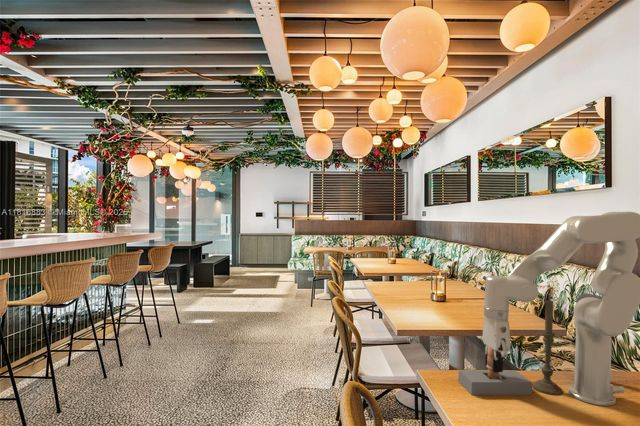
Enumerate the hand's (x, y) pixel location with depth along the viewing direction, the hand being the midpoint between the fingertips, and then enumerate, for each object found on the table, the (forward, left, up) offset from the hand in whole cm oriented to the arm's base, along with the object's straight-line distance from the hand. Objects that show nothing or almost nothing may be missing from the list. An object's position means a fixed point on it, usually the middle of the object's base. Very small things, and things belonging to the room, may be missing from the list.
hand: (493, 368), depth 133 cm
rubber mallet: (-41, -7, -7) cm, 42 cm away
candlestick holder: (-18, +1, -7) cm, 19 cm away
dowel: (0, 0, -4) cm, 4 cm away
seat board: (0, 0, -7) cm, 7 cm away
